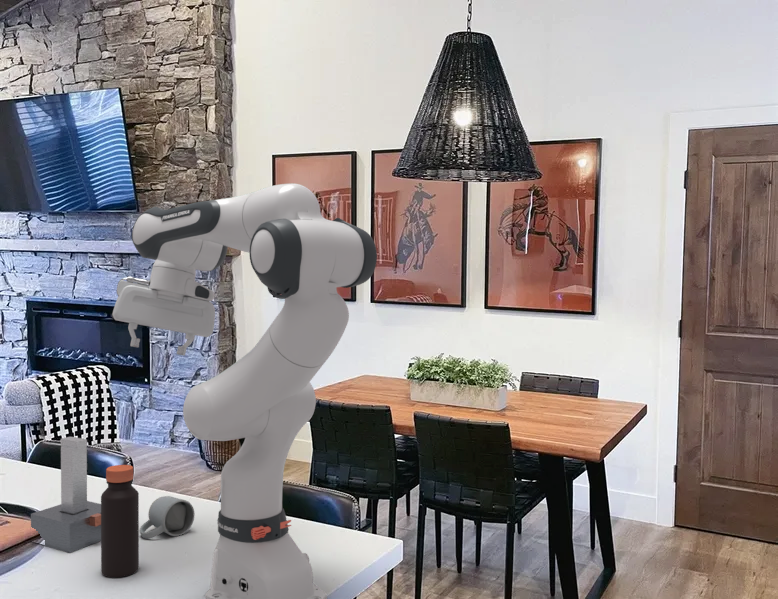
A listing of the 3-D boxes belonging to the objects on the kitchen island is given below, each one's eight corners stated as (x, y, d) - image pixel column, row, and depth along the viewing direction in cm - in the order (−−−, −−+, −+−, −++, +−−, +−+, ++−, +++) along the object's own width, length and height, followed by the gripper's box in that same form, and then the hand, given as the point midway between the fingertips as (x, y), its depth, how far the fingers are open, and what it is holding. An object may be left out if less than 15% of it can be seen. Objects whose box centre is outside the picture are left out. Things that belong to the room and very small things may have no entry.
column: (89, 538, 165) (89, 438, 164) (75, 543, 162) (74, 442, 161) (73, 533, 168) (72, 435, 167) (58, 538, 165) (58, 439, 164)
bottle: (122, 561, 153) (122, 461, 152) (146, 569, 149) (146, 466, 148) (93, 573, 147) (92, 469, 146) (117, 581, 143) (117, 474, 142)
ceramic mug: (175, 522, 176) (174, 489, 175) (195, 531, 170) (195, 497, 170) (132, 534, 168) (131, 500, 168) (151, 544, 163) (151, 508, 162)
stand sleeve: (121, 536, 167) (121, 508, 166) (75, 554, 156) (74, 524, 156) (78, 525, 173) (78, 497, 173) (31, 541, 163) (30, 512, 162)
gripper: (121, 273, 154) (107, 341, 152) (222, 294, 162) (209, 359, 160) (117, 275, 159) (103, 341, 157) (215, 296, 168) (202, 359, 166)
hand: (157, 350), depth 159 cm, fingers open, 8 cm apart
